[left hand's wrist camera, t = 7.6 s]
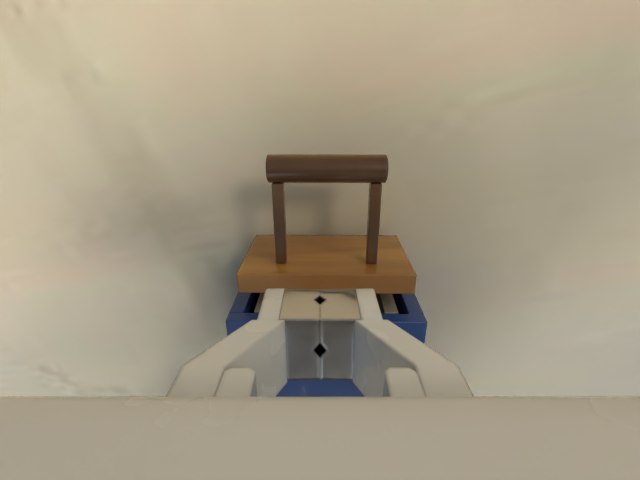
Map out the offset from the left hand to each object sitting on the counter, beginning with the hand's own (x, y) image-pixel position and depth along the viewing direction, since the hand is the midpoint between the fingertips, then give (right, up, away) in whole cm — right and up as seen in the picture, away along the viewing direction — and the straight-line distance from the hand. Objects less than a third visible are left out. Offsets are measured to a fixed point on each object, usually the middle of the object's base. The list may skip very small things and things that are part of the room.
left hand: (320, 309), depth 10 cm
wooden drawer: (0, 0, +16) cm, 16 cm away
